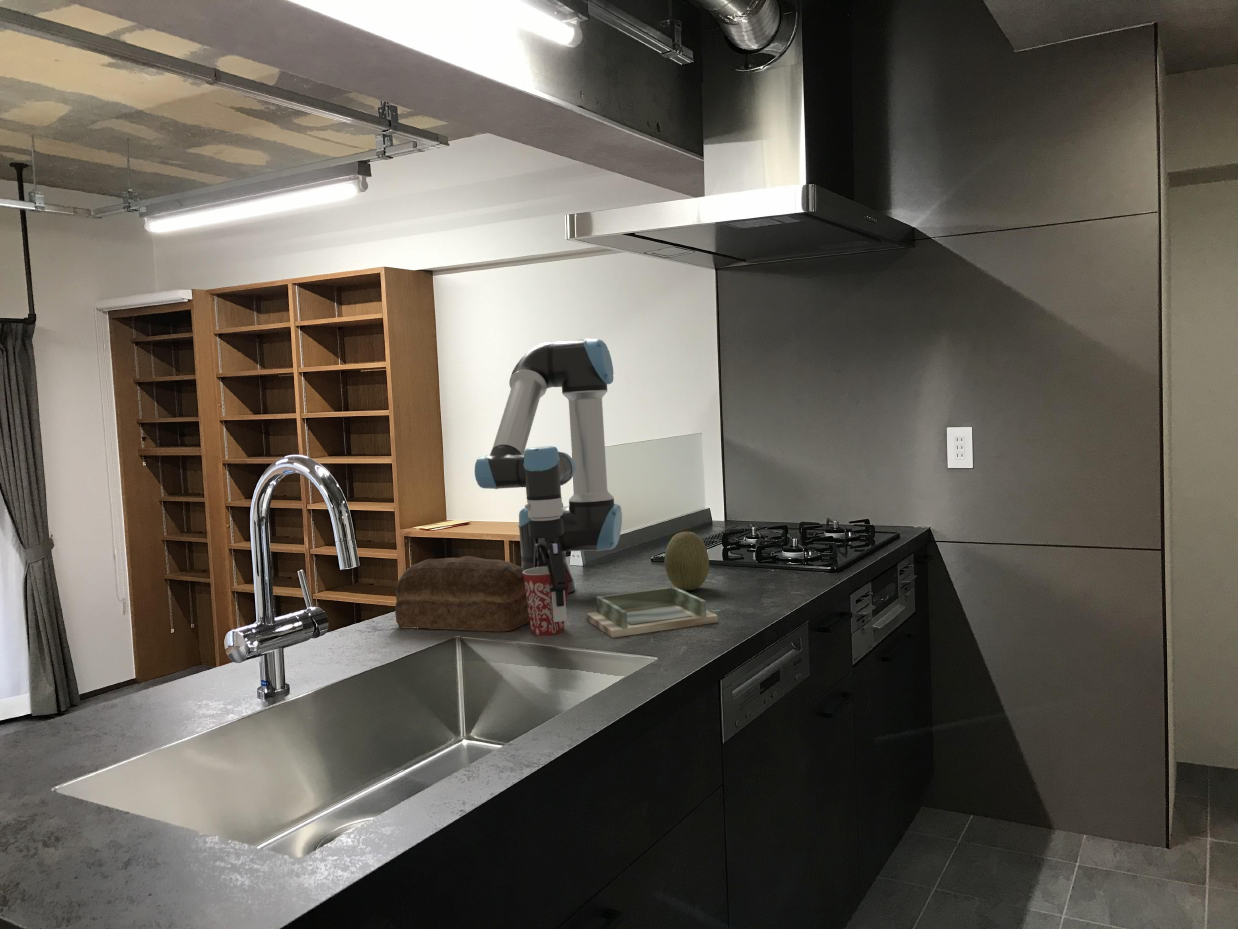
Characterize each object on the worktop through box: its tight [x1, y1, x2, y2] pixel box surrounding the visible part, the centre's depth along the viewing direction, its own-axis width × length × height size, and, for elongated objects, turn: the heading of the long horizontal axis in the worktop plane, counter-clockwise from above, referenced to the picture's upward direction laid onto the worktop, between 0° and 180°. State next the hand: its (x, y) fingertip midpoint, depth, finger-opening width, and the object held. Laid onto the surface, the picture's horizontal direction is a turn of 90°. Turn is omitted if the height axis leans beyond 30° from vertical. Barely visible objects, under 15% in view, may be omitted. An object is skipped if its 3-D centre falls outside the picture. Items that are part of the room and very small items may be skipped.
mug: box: [523, 566, 569, 636], centre depth 207 cm, size 13×9×14 cm
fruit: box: [664, 531, 710, 592], centre depth 240 cm, size 11×11×15 cm
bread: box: [394, 555, 530, 633], centre depth 218 cm, size 15×32×16 cm, turn 69°
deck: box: [586, 586, 719, 638], centre depth 209 cm, size 18×24×5 cm
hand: (551, 614), depth 207 cm, fingers open, 13 cm apart
